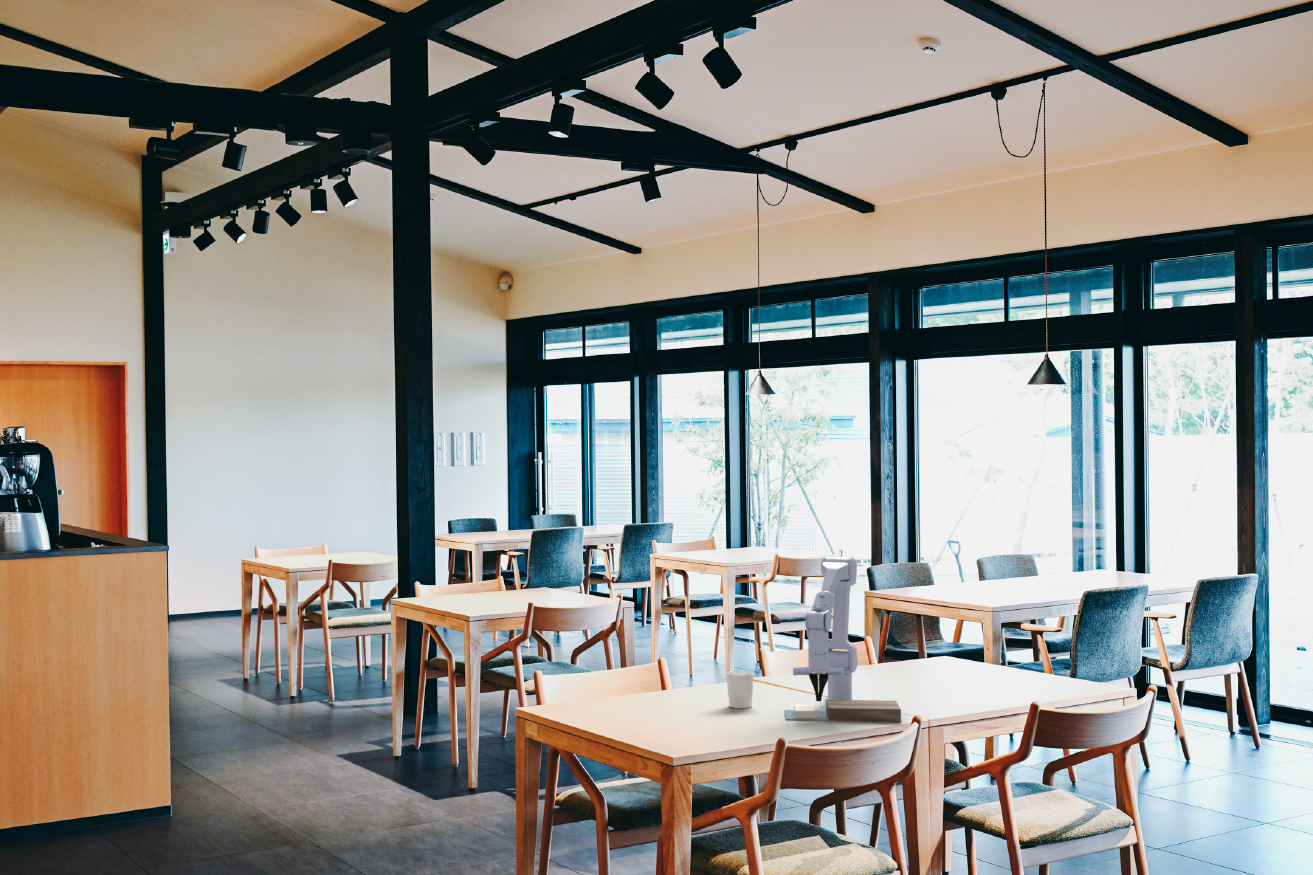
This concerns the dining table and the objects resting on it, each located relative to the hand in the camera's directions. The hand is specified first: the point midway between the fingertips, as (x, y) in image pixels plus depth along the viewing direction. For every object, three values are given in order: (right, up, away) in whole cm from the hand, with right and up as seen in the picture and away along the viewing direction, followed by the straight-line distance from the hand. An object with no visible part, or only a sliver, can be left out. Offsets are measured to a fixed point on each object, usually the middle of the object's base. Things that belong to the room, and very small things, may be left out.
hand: (818, 700), depth 333 cm
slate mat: (-4, -4, 0) cm, 6 cm away
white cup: (-22, -5, +14) cm, 26 cm away
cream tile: (-4, -2, 0) cm, 4 cm away
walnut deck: (+12, -4, -1) cm, 13 cm away
